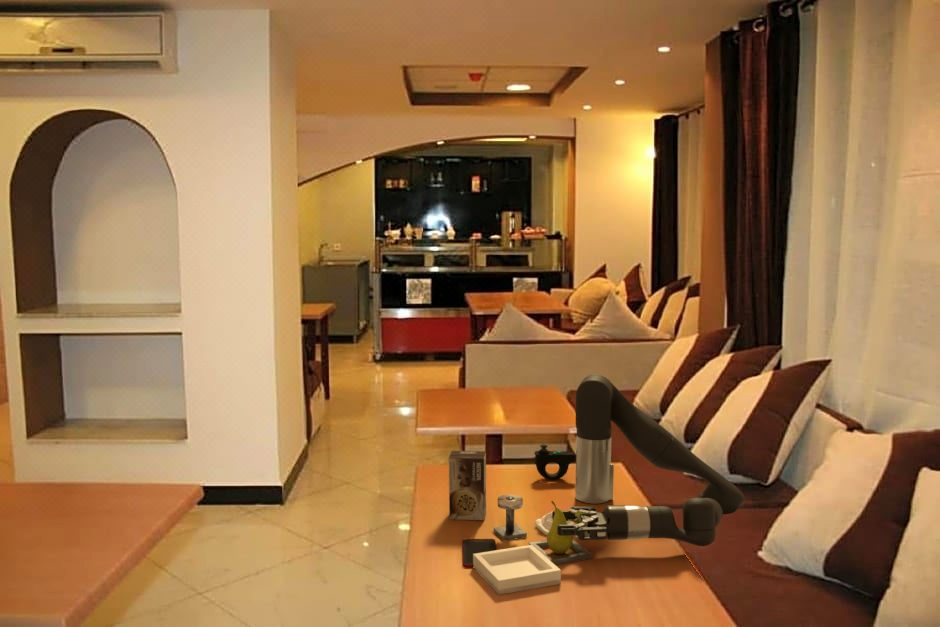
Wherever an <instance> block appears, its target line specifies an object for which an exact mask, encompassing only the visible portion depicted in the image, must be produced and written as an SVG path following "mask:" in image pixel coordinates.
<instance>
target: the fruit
mask: <svg viewBox="0 0 940 627" xmlns="http://www.w3.org/2000/svg"><path fill="white" fill-rule="evenodd" d="M551 504H552V505H553V506H554V511H555V515H554V517H553V523H552V527H551V529H550V531H549V532H548V535H546V540H547V543H548V546H549V547H548V548H549V549H550V551H551V552H553V553H554V554H558V555H563V554H564V555H565V553H566V552H568V551H569V550H570V549H571V545H572V542H573V540H574V535H566V536H559V535H558V534H557V526H558V525H568V524H567V521H566V519H565V517H564V514H563V513H562V511H563V510H561V509H560V508H557V506H556V504H555V502H554V501H553V500H551Z"/></svg>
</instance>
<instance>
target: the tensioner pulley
mask: <svg viewBox="0 0 940 627" xmlns="http://www.w3.org/2000/svg"><path fill="white" fill-rule="evenodd" d="M523 506H524V498H523V497H522V496H520V495H517V494H502V495H499V496H498V497H497V507H498V508H500V509H503V510H505V525H501V526H494V527H493V533H495V535H496V536H498V537H499V538H500V539H501V540H502V539H503V540H505V541H510V540H509V539H511V540H516V539H515V538H518V539H523V538H522V537H524V538H527V535H528V534H527V532H526V531H525V530H524V529H523V528H521V527H520V526H519V525H518V524H515V510H519V509H521V508H523Z"/></svg>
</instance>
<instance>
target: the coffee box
mask: <svg viewBox="0 0 940 627" xmlns="http://www.w3.org/2000/svg"><path fill="white" fill-rule="evenodd" d="M448 456H449V457H448V485H449V486H448V489H449V490H448V496H449V497H448V500H449V502H448V503H449V504H448V506H449V508H448V510H449V511H448V513H449V518H448V519H449V520H454V519H455V520H462V521H463V520H465V521H485V520H486V516H487V451H485V450H484V451H481V450H475V451H474V450H451V451H450V454H449V455H448Z"/></svg>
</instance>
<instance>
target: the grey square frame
mask: <svg viewBox="0 0 940 627" xmlns="http://www.w3.org/2000/svg"><path fill="white" fill-rule="evenodd" d="M528 545H533V546H534V547H535V548H536V549H537V550H538V551H539V552H541V553H542V554H543V555H544V556H545V557H546V558H548V559H549V560H550V561H551V562H552V563H553V564H555V565H556V566H557V565H560V564H567V563H568V564H569V563H573V562H574V563H575V562H579V560H580V561H584V560H583V559H586V560H590V559H589V558H591V559H592V552H590V551H589V550H588V549H586V548H585V547H583V545H581V544H580V543H579V542H577V541H576V540H574V539H573V542H572V545H571V547H572V548H571V547H570V548H571V549H572V550H574V551H575V552H576V551H577V552H576V553H572V554H564V555H559V556H551V554H548V553H547V552H546V551H545V550H544V549H543V548H542V547H545V548H549V546H548V543H547V539H544V540H537V541H531V542H528Z"/></svg>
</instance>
